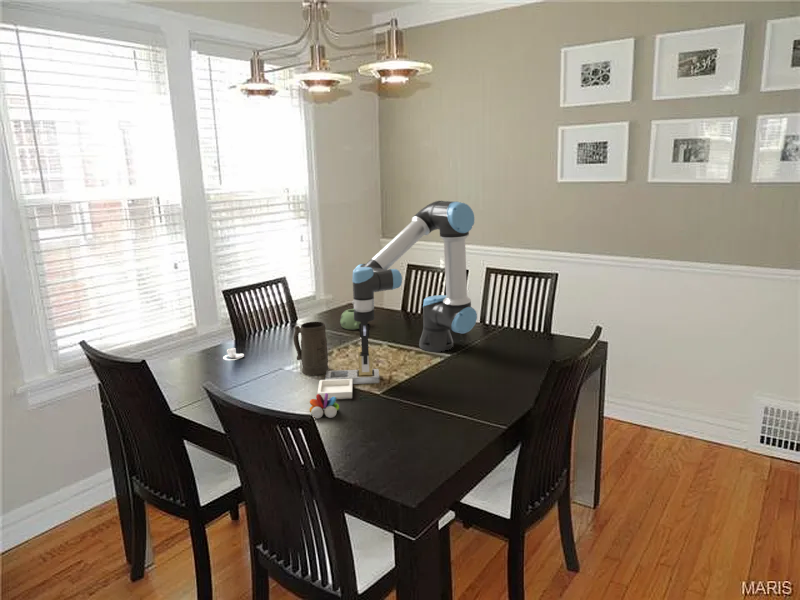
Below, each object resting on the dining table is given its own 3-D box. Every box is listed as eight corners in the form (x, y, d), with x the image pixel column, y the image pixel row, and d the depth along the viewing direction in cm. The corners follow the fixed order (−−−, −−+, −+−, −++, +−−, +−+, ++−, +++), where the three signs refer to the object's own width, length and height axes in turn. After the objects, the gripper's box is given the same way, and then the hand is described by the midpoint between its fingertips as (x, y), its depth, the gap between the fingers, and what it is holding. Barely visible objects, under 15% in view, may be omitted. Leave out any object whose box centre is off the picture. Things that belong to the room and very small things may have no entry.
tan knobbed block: (372, 376, 208) (371, 346, 205) (372, 381, 203) (371, 350, 200) (359, 377, 208) (358, 346, 205) (359, 382, 203) (358, 351, 200)
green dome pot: (337, 325, 276) (337, 308, 274) (362, 322, 280) (361, 306, 278) (345, 333, 261) (344, 316, 259) (370, 331, 265) (370, 314, 263)
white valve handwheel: (247, 358, 231) (246, 349, 230) (230, 363, 225) (229, 353, 224) (236, 353, 237) (235, 344, 236) (219, 358, 231) (218, 349, 230)
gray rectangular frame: (378, 374, 210) (378, 368, 209) (379, 382, 202) (379, 376, 201) (326, 376, 208) (326, 370, 208) (325, 385, 200) (325, 378, 200)
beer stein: (334, 367, 217) (329, 320, 213) (322, 377, 208) (317, 328, 204) (302, 365, 223) (296, 320, 218) (288, 375, 213) (282, 327, 209)
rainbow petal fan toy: (310, 409, 181) (309, 389, 179) (339, 407, 182) (338, 387, 180) (308, 420, 173) (307, 399, 171) (339, 419, 174) (338, 398, 172)
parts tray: (352, 385, 200) (352, 378, 200) (352, 398, 188) (352, 391, 188) (319, 386, 199) (319, 380, 199) (317, 400, 188) (317, 393, 187)
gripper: (353, 303, 207) (355, 360, 213) (353, 316, 190) (355, 378, 195) (373, 303, 208) (374, 360, 213) (374, 315, 190) (376, 377, 196)
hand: (365, 368), depth 204 cm, fingers closed on tan knobbed block, 5 cm apart
